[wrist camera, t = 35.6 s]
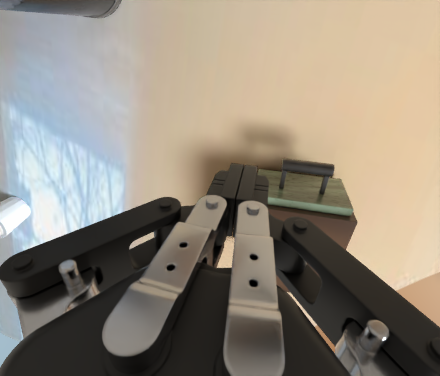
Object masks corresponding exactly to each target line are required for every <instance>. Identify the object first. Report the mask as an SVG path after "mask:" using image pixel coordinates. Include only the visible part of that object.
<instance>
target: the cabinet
mask: <svg viewBox="0 0 440 376" xmlns="http://www.w3.org/2000/svg"><path fill="white" fill-rule="evenodd" d="M257 175H258V173H257ZM267 208H268V211H269V213H270V214H271V215H272V216H273V217H275V218H277V219H279V220H282V221H285V220H286V219H287V218H289V217H302V218H305V219H308V220H309V221H311V222H312V223H313V224H315V225H316V226H317V227H318V228H320V229H321V230H322V231H323V232H324V233H326V234H327V235H328V236H329V237H330V238H332V239H333V240H334V241H335V242H337V243H338V244H339V245H340V246H341V247H343V248H344V249H345V250H346V248H347V246H348V243H349V241H350V239H351V236H352V234H353V232H354V229H355V227H356V225H357V220H356V218H355V215H354V213H353V212H352V215H351V216H343V215H332V214H325V213H318V212H312V211H305V210H298V209H291V208H284V207H278V206H271V205H268V206H267ZM307 265H308V266H309V267H310V268H311V269H312V270H313V271H314V272H315V273H316V274H317V275H318V273H317V272H316V271H315V270H314V269H313V268H312V267H311V266H310V265H309V264H308V263H307ZM318 276H319V275H318ZM319 277H320V276H319ZM276 284H277V285H278V286H279V287H281V288H282V289H283V290H285V291H286V292H290V291H289V290H288V288H287V287H286V286H285V285H284V284H283V282H282V281H281V280H280V279H279V278H278V276H277V275H276Z"/></svg>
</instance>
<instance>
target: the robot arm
mask: <svg viewBox="0 0 440 376" xmlns="http://www.w3.org/2000/svg"><path fill="white" fill-rule="evenodd" d="M120 2H121V0H0V10H12V11H25V12H38V13H50V14H63V15H75V16H85V17H91V18H103V17H107V16H109V15H111V14H112V13H113V12H114V11H115V10H116V9H117V8H118V6H119V4H120ZM257 167H258V166H251V165H245V166H244V165H242V164H234V163H231V165H230V168H229V171H223V170H221V171H219V172H218V173H217V174H216V175H215V177H214V179H213V181H212V184H211V186H210V188H209V190H208V193H207V195H206V196H203V197H201V198H200V199H199V200H198V202H197V203H196V205H193V206H181V204H180V202H179V201H178V200H177V199H175V198H172V197H163V198H159V199H156V200H154V201H151V202H148V203H146V204H143V205H141V206H138V207H136V208H133V209H130V210H128V211H125V212H123V213H120V214H118V215H115V216H112V217H110V218H107V219H105V220H102V221H99V222H97V223H94V224H92V225H89V226H87V227H84V228H81V229H79V230H76V231H74V232H71V233H69V234H66V235H63V236H61V237H58V238H56V239H53V240H51V241H48V242H45V243H43V244H40V245H38V246H35V247H33V248H30V249H27V250H25V251H22V252H20V253H17V254H15V255H13V256H12V257H10V258H9V259H7V260H6V261H5V262H4V263H3V264H2V265H1V266H0V280H1V282H2V283H3V285H4V286H5V288H6V289H7V293H8V295H9V297H10V298H11V300H12V301H13V303H14V304H15V306H16V307H17V309H18V314H19V319H20V324H21V328H22V333H23V338H24V339H23V340H22V341H21V342H20V343H19V344H18V345H17V346H16V347H15V348H14V349H13V350H12V352H11V353H10V354H9V355H8V357H7V358H6V359H5V361H4V362H3V364H2V365H1V367H0V376H440V327H439V326H437V325H436V324H435V323H434V322H433V321H431V320H430V319H429V318H428V317H426V316H425V315H424V314H423V313H422V312H420V311H419V310H418V309H417V308H416V307H414V306H413V305H412V304H411V303H409V302H408V301H407V300H406V299H405V298H403V297H402V296H401V295H400V294H399V293H397V292H396V291H395V290H394V289H392V288H391V287H390V286H389V285H388V284H386V283H385V282H384V281H383V280H381V279H380V278H379V277H378V276H377V275H375V274H374V273H373V272H372V271H371V270H369V269H368V268H367V267H366V266H364V265H363V264H362V263H361V262H360V261H358V260H357V259H356V258H355V257H354V256H352V255H351V254H350V253H349V252H347V251H346V250H345V249H344V248H343V247H341V246H340V245H339V244H338V243H337V242H335V241H334V240H333V239H332V238H330V237H329V236H328V235H327V234H326V233H324V232H323V231H322V230H321V229H320V228H318V227H317V226H316V225H315V224H313V223H312V222H311V221H309V220H308V219H305V218H302V217H289V218H287V219H286V220H285V221H282V220H279V219H277V218H275V217H273V216H272V215H271V214H270V213H269V211H268V208H267V206H268V191H269V180H268V179H267V177H266V176H262V175H257ZM233 228H234V229H233ZM151 232H154V237H155V238H152V239H150V240H148V241H146V242H144V243H142V244H140V245H138V246H136V247H134V248H132V249H130V250H129V247H130V245H131V243H132V242H133V241H135V240H136V239H139V238H141V237H143V236H145V235H147V234H149V233H151ZM232 232H233V237H235V242H234V252H233V261H232V268H217V265H218V262H219V259H220V257H221V254H222V251H223V248H224V242H225V240H226V236H232ZM307 263H308V264H309V265H310V266H311V267H312V268H313V269H314V270H315V271H316V272H317V273H318V275H319V276H320V277H319V276H318V275H317V274H316V273H315V272H314V271H313V270H312V269H311V268H310V267H309V266H308V265H307ZM276 275H277V276H278V278H279V279H280V280H281V281H282V282H283V284H284V285H285V286H286V287H287V288H288V290H289V291H290V292H291V293H292V295H293V296H294V297H295V298H296V299H297V301H298V302H299V303H300V304H301V305H302V307H303V308H304V309H305V310H306V312H307V313H308V314H309V315H310V316H311V318H312V319H313V320H314V321H315V322H316V324H317V325H318V326H319V327H320V328H321V330H322V331H323V332H324V333H325V335H326V336H327V337H328V338H329V339H330V341H331V342H332V343H333V344H334V345H335V353H334V352H333V351H332V349H331V348H330V347H329V346H328V344H327V343H326V342H325V340H324V339H323V338H322V337H321V335H320V334H319V333H318V331H317V330H316V329H315V327H314V326H313V325H312V323H311V322H310V321H309V319H308V318H307V317H306V315H305V314H304V313H303V311H302V310H301V309H300V307H299V306H298V305H297V304H296V302H295V301H294V300H293V298H292V297H291V296H290V295H289V294H288V293H287V292H286V291H285V290H283V289H282V288H281V287H279V286H278V285H277V284H276Z"/></svg>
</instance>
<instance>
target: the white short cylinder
mask: <svg viewBox="0 0 440 376" xmlns="http://www.w3.org/2000/svg"><path fill="white" fill-rule="evenodd" d="M30 214H31V210H30V207H29V206H28V205H27V203H26V202H24V201H23V200H22V199H20V198H18V197H9V198H7V199H5V200H3V201H1V202H0V238H4V237H6V236H7V235H8V234H9V233H10V232H11V231H12V230H14V229H15V228H16V227H17V226H18V225H19V224H20V223H21V222H23V221H24V220H25V219H26V218H27V217H28V216H29V215H30Z"/></svg>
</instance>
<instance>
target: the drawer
mask: <svg viewBox="0 0 440 376" xmlns="http://www.w3.org/2000/svg"><path fill="white" fill-rule="evenodd" d="M281 170H282V172H280V171H272V170H264V169H258V175H262V176H266V177H267V179H268V180H269V191H268V205H271V206H278V207H279V206H282V207H289V208H296V209H302V210H309V211H312V212H318V213H325V214H332V215H343V216H351V215H352V212H353V207H352V205H351V202H350V200H349V197H348V195H347V192H346V190H345V188H344V185H343V183H342V180H341V179H335V178H329V176H332V175H333V173H334V165H333V164H326V163H318V162H309V161H301V160H292V159H284V158H283V160H282V165H281ZM287 171H291V172H299V173H307V174H315V175H323V176H324V177H319V176H311V175H303V174H295V173H287Z"/></svg>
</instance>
